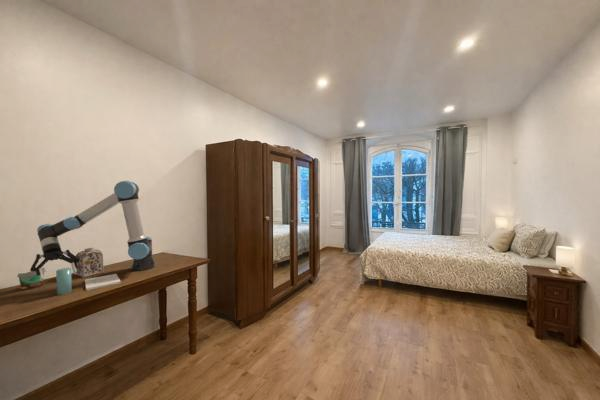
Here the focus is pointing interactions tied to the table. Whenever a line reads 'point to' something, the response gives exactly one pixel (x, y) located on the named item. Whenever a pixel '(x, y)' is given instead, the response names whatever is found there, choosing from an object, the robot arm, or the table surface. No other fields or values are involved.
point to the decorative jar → (89, 262)
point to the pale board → (102, 281)
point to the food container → (30, 280)
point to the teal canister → (64, 281)
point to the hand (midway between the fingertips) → (59, 276)
